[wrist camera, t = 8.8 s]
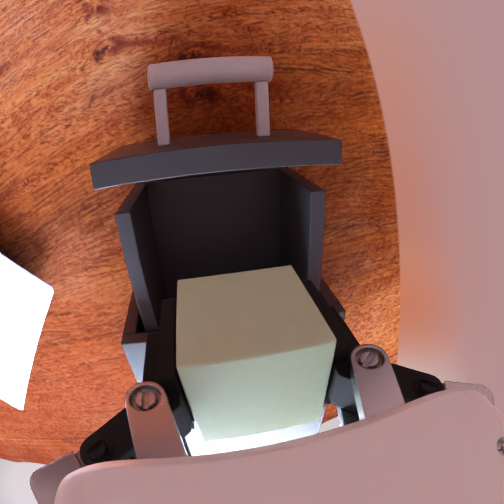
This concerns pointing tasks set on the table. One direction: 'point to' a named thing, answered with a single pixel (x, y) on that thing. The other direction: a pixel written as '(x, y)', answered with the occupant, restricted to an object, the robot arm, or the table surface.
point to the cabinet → (135, 354)
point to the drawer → (216, 191)
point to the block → (251, 352)
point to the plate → (19, 327)
